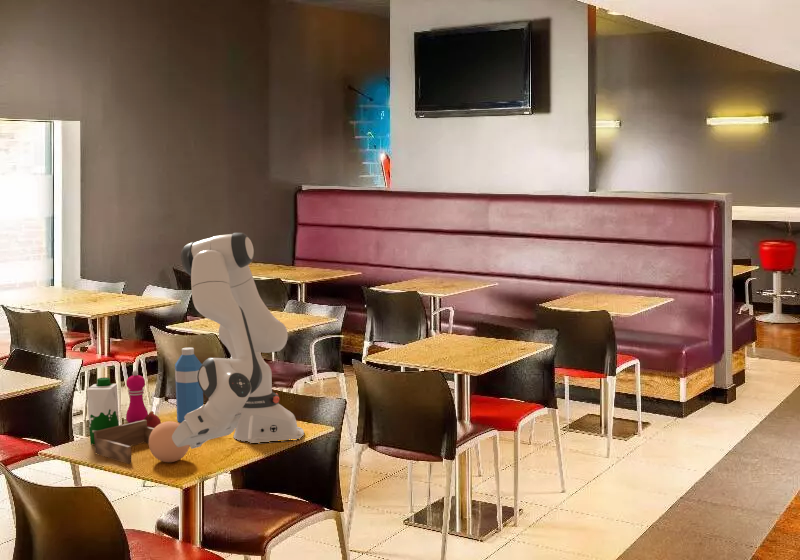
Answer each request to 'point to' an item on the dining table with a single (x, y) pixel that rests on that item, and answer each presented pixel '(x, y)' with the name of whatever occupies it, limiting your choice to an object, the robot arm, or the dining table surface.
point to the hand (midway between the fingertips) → (194, 445)
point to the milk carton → (102, 406)
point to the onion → (152, 420)
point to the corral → (121, 440)
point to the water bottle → (187, 384)
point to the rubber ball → (166, 443)
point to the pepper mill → (136, 398)
